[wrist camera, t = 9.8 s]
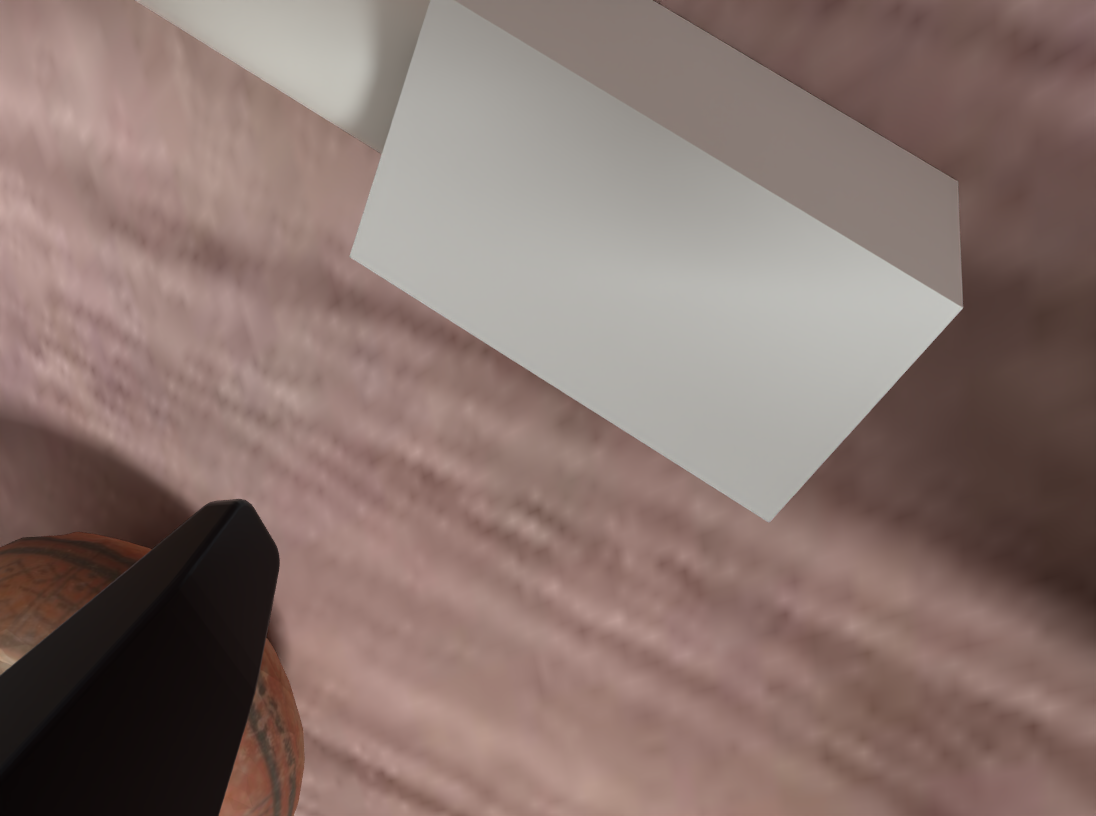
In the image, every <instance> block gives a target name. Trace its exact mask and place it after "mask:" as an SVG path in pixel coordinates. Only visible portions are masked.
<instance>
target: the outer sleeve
mask: <svg viewBox="0 0 1096 816" xmlns="http://www.w3.org/2000/svg"><path fill="white" fill-rule="evenodd" d="M350 257H351V258H352V259H354V260H355V261H357V262H358V263H360V264H362V265H363V266H365V267H366V268H368V269H369V270H371V271H373V272H374V273H376V274H377V275H379V276H381V277H382V278H384V279H385V280H387V281H388V282H390V283H392V284H393V285H395V286H396V287H398V288H399V289H401V290H403V291H404V292H406V293H407V294H409V295H410V296H412V297H414V298H415V299H417V300H418V301H420V302H422V303H423V304H425V305H426V306H428V307H429V308H431V309H433V310H434V311H436V312H437V313H439V314H440V315H442V316H444V317H445V318H447V319H448V320H450V321H452V322H453V323H455V324H456V325H458V326H459V327H461V328H463V329H464V330H466V331H467V332H469V333H470V334H472V335H474V336H475V337H477V338H478V339H480V340H482V341H483V342H485V343H486V344H488V345H489V346H491V347H493V348H494V349H496V350H497V351H499V352H500V353H502V354H504V355H505V356H507V357H508V358H510V359H512V360H513V361H515V362H516V363H518V364H519V365H521V366H523V367H524V368H526V369H527V370H529V371H530V372H532V373H534V374H535V375H537V376H538V377H540V378H542V379H543V380H545V381H546V382H548V383H549V384H551V385H553V386H554V387H556V388H557V389H559V390H560V391H562V392H564V393H565V394H567V395H568V396H570V397H571V398H573V399H575V400H576V401H578V402H579V403H581V404H583V405H584V406H586V407H587V408H589V409H590V410H592V411H594V412H595V413H597V414H598V415H600V416H601V417H603V418H605V419H606V420H608V421H609V422H611V423H613V424H614V425H616V426H617V427H619V428H620V429H622V430H624V431H625V432H627V433H628V434H630V435H631V436H633V437H635V438H636V439H638V440H639V441H641V442H643V443H644V444H646V445H647V446H649V447H650V448H652V449H654V450H655V451H657V452H658V453H660V454H661V455H663V456H665V457H666V458H668V459H669V460H671V461H673V462H674V463H676V464H677V465H679V466H680V467H682V468H684V469H685V470H687V471H688V472H690V473H691V474H693V475H695V476H696V477H698V478H699V479H701V480H703V481H704V482H706V483H707V484H709V485H710V486H712V487H714V488H715V489H717V490H718V491H720V492H721V493H723V494H725V495H726V496H728V497H729V498H731V499H732V500H734V501H736V502H737V503H739V504H740V505H742V506H744V507H745V508H747V509H748V510H750V511H751V512H753V513H755V514H756V515H758V516H759V517H761V518H762V519H764V520H766V521H767V522H770V521H771V520H772V519H773V518H774V517H775V516H776V515H777V513H778V512H779V511H780V510H781V509H782V508H783V507H784V506H785V505H786V504H787V502H788V501H789V500H790V499H791V498H792V497H793V496H794V495H795V494H796V492H797V491H798V490H799V489H800V488H801V487H802V486H803V485H804V484H805V482H806V481H807V480H808V479H809V478H810V477H811V476H812V475H813V474H814V473H815V471H816V470H817V469H818V468H819V467H820V466H821V465H822V464H823V463H824V461H825V460H826V459H827V458H828V457H829V456H830V455H831V454H832V453H833V451H834V450H835V449H836V448H837V447H838V446H839V445H840V444H841V443H842V442H843V440H844V439H845V438H846V437H847V436H848V435H849V434H850V433H851V432H852V430H853V429H854V428H855V427H856V426H857V425H858V424H859V423H860V422H861V420H862V419H863V418H864V417H865V416H866V415H867V414H868V413H869V412H870V411H871V409H872V408H873V407H874V406H875V405H876V404H877V403H878V402H879V401H880V399H881V398H882V397H883V396H884V395H885V394H886V393H887V392H888V391H889V389H890V388H891V387H892V386H893V385H894V384H895V383H896V382H897V381H898V380H899V378H900V377H901V376H902V375H903V374H904V373H905V372H906V371H907V370H908V368H909V367H910V366H911V365H912V364H913V363H914V362H915V361H916V360H917V358H918V357H919V356H920V355H921V354H922V353H923V352H924V351H925V350H926V349H927V347H928V346H929V345H930V344H931V343H932V342H933V341H934V340H935V339H936V337H937V336H938V335H939V334H940V333H941V332H942V331H943V330H944V329H945V327H946V326H947V325H948V324H949V323H950V322H951V321H952V320H953V319H954V318H955V316H956V315H957V314H958V313H959V312H960V311H961V310H962V309H963V293H962V268H961V243H960V218H959V193H958V181H956V180H955V179H953V178H951V177H950V176H948V175H946V174H945V173H943V172H941V171H940V170H938V169H936V168H934V167H933V166H931V165H929V164H928V163H926V162H924V161H923V160H921V159H919V158H918V157H916V156H914V155H913V154H911V153H909V152H908V151H906V150H904V149H902V148H901V147H899V146H897V145H896V144H894V143H892V142H891V141H889V140H887V139H886V138H884V137H882V136H881V135H879V134H877V133H876V132H874V131H872V130H870V129H869V128H867V127H865V126H864V125H862V124H860V123H859V122H857V121H855V120H854V119H852V118H850V117H849V116H847V115H845V114H844V113H842V112H840V111H838V110H837V109H835V108H833V107H832V106H830V105H828V104H827V103H825V102H823V101H822V100H820V99H818V98H817V97H815V96H813V95H812V94H810V93H808V92H806V91H805V90H803V89H801V88H800V87H798V86H796V85H795V84H793V83H791V82H790V81H788V80H786V79H785V78H783V77H781V76H780V75H778V74H776V73H774V72H773V71H771V70H769V69H768V68H766V67H764V66H763V65H761V64H759V63H758V62H756V61H754V60H753V59H751V58H749V57H748V56H746V55H744V54H742V53H741V52H739V51H737V50H736V49H734V48H732V47H731V46H729V45H727V44H726V43H724V42H722V41H721V40H719V39H717V38H716V37H714V36H712V35H710V34H709V33H707V32H705V31H704V30H702V29H700V28H699V27H697V26H695V25H694V24H692V23H690V22H689V21H687V20H685V19H684V18H682V17H680V16H678V15H677V14H675V13H673V12H672V11H670V10H668V9H667V8H665V7H663V6H662V5H660V4H658V3H657V2H655V1H653V0H430V3H429V6H428V9H427V12H426V16H425V19H424V22H423V25H422V28H421V31H420V35H419V38H418V41H417V44H416V47H415V50H414V54H413V57H412V60H411V63H410V66H409V70H408V73H407V76H406V79H405V82H404V85H403V89H402V92H401V95H400V98H399V101H398V104H397V108H396V111H395V114H394V117H393V120H392V123H391V127H390V130H389V133H388V136H387V139H386V142H385V146H384V149H383V152H382V155H381V158H380V162H379V165H378V168H377V171H376V174H375V177H374V181H373V184H372V187H371V190H370V193H369V196H368V200H367V203H366V206H365V209H364V212H363V215H362V219H361V222H360V225H359V228H358V231H357V235H356V238H355V241H354V244H353V247H352V250H351V254H350Z"/></svg>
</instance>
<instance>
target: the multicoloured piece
mask: <svg viewBox="0 0 1096 816" xmlns="http://www.w3.org/2000/svg"><path fill="white" fill-rule="evenodd" d="M135 1H136V2H138V3H140V4H141V5H143V6H144V7H146V8H148V9H149V10H151V11H152V12H154V13H156V14H157V15H159V16H161V17H162V18H164V19H165V20H167V21H169V22H170V23H172V24H173V25H175V26H177V27H178V28H180V29H181V30H183V31H185V32H186V33H188V34H189V35H191V36H193V37H194V38H196V39H197V40H199V41H201V42H202V43H204V44H206V45H207V46H209V47H210V48H212V49H214V50H215V51H217V52H218V53H220V54H222V55H223V56H225V57H226V58H228V59H230V60H231V61H233V62H234V63H236V64H238V65H239V66H241V67H242V68H244V69H246V70H247V71H249V72H251V73H252V74H254V75H255V76H257V77H259V78H260V79H262V80H263V81H265V82H267V83H268V84H270V85H271V86H273V87H275V88H276V89H278V90H279V91H281V92H283V93H284V94H286V95H287V96H289V97H291V98H292V99H294V100H295V101H297V102H299V103H300V104H302V105H304V106H305V107H307V108H308V109H310V110H312V111H313V112H315V113H316V114H318V115H320V116H321V117H323V118H324V119H326V120H328V121H329V122H331V123H332V124H334V125H336V126H337V127H339V128H340V129H342V130H344V131H345V132H347V133H349V134H350V135H352V136H353V137H355V138H357V139H358V140H360V141H361V142H363V143H365V144H366V145H368V146H369V147H371V148H373V149H374V150H376V151H377V152H379V153H381V154H382V152H383V149H384V146H385V142H386V139H387V136H388V133H389V130H390V127H391V123H392V120H393V117H394V114H395V111H396V108H397V104H398V101H399V98H400V95H401V92H402V89H403V85H404V82H405V79H406V76H407V73H408V70H409V66H410V63H411V60H412V57H413V54H414V50H415V47H416V44H417V41H418V38H419V35H420V31H421V28H422V25H423V22H424V19H425V16H426V12H427V9H428V6H429V3H430V0H135Z"/></svg>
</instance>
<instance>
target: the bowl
mask: <svg viewBox="0 0 1096 816" xmlns="http://www.w3.org/2000/svg"><path fill="white" fill-rule="evenodd" d="M151 550H152V549H150V548H147V547H144V546H140V545H137V544H134V543H130V542H127V541H123V540H119V539H116V538H111V537H106V536H102V535H97V534H91V533H83V532H74V533H70V534H66V535H57V536H42V537H27V538H21V539H18V540H16V541H14V542H11V543H9V544H7V545H5V546H2V547H0V675H1V674H2V673H3V672H4V671H6V670H7V669H8V668H9V667H11V666H12V665H13V664H14V663H15V662H17V661H18V660H19V659H20V658H21V657H23V656H24V655H25V654H26V653H27V652H29V651H30V650H31V649H32V648H33V647H35V646H36V645H37V644H38V643H39V642H41V641H42V640H43V639H44V638H46V637H47V636H48V635H49V634H50V633H52V632H53V631H54V630H55V629H56V628H58V627H59V626H60V625H61V624H62V623H64V622H65V621H66V620H67V619H68V618H70V617H71V616H72V615H73V614H74V613H76V612H77V611H78V610H79V609H81V608H82V607H83V606H84V605H85V604H87V603H88V602H89V601H90V600H91V599H93V598H94V597H95V596H96V595H97V594H99V593H100V592H101V591H102V590H103V589H105V588H106V587H107V586H108V585H109V584H111V583H112V582H113V581H114V580H116V579H117V578H118V577H119V576H120V575H122V574H123V573H124V572H125V571H126V570H128V569H129V568H130V567H131V566H132V565H134V564H135V563H136V562H137V561H138V560H140V559H141V558H142V557H143V556H144V555H146V554H147V553H148V552H149V551H151ZM304 760H305V757H304V738H303V727H302V724H301V720H300V716H299V713H298V709H297V706H296V703H295V699H294V696H293V693H292V689H291V686H290V683H289V680H288V678H287V676H286V674H285V671H284V669H283V667H282V665H281V663H280V660H279V658H278V656H277V654H276V652H275V650H274V649H273V647H272V645H271V644H270V642H269V641H268V639H267V638H266V642H265V647H264V652H263V658H262V663H261V668H260V673H259V678H258V682H257V687H256V691H255V695H254V699H253V702H252V706H251V710H250V713H249V717H248V720H247V723H246V727H245V730H244V733H243V737H242V740H241V743H240V747H239V750H238V753H237V757H236V760H235V763H234V767H233V770H232V773H231V777H230V780H229V783H228V787H227V790H226V793H225V797H224V800H223V803H222V807H221V810H220V813H219V816H294V813H295V810H296V807H297V805H298V801H299V795H300V789H301V783H302V777H303V770H304Z"/></svg>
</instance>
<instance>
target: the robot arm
mask: <svg viewBox="0 0 1096 816" xmlns="http://www.w3.org/2000/svg"><path fill="white" fill-rule="evenodd" d="M279 565H280V559H279V552H278V549H277V546H276V544H275V542H274V541H273V539H272V537H271V536H270V534H269V532H268V531H267V529H266V527H265V525H264V524H263V522H262V520H261V519H260V517H259V515H258V514H257V512H256V510H255V509H254V507H253V506H252V504H250V503H249V502H247V501H246V500H242V499H233V500H221V501H214V502H210V503H208V504H206V505H205V506H204V507H202V508H201V509H200V510H199V511H198V512H196V513H195V514H194V515H193V516H192V517H190V518H189V519H188V520H187V521H185V522H184V523H183V524H182V525H181V526H179V527H178V528H177V529H176V530H175V531H173V532H172V533H171V534H170V535H169V536H167V537H166V538H165V539H164V540H163V541H161V542H160V543H159V544H158V545H157V546H155V547H154V548H153V549H152V550H151V551H149V552H148V553H147V554H146V555H144V556H143V557H142V558H141V559H140V560H138V561H137V562H136V563H135V564H134V565H132V566H131V567H130V568H129V569H128V570H126V571H125V572H124V573H123V574H122V575H120V576H119V577H118V578H117V579H116V580H114V581H113V582H112V583H111V584H109V585H108V586H107V587H106V588H105V589H103V590H102V591H101V592H100V593H99V594H97V595H96V596H95V597H94V598H93V599H91V600H90V601H89V602H88V603H87V604H85V605H84V606H83V607H82V608H81V609H79V610H78V611H77V612H76V613H74V614H73V615H72V616H71V617H70V618H68V619H67V620H66V621H65V622H64V623H62V624H61V625H60V626H59V627H58V628H56V629H55V630H54V631H53V632H52V633H50V634H49V635H48V636H47V637H46V638H44V639H43V640H42V641H41V642H39V643H38V644H37V645H36V646H35V647H33V648H32V649H31V650H30V651H29V652H27V653H26V654H25V655H24V656H23V657H21V658H20V659H19V660H18V661H17V662H15V663H14V664H13V665H12V666H11V667H9V668H8V669H7V670H6V671H4V672H3V673H2V674H1V675H0V816H219V813H220V810H221V807H222V803H223V800H224V797H225V793H226V790H227V787H228V783H229V780H230V777H231V773H232V770H233V767H234V763H235V760H236V757H237V753H238V750H239V747H240V743H241V740H242V737H243V733H244V730H245V727H246V723H247V720H248V717H249V713H250V710H251V706H252V702H253V699H254V695H255V691H256V687H257V682H258V678H259V673H260V668H261V663H262V658H263V652H264V647H265V642H266V636H267V631H268V626H269V620H270V615H271V610H272V604H273V599H274V594H275V589H276V583H277V578H278V573H279Z"/></svg>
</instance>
